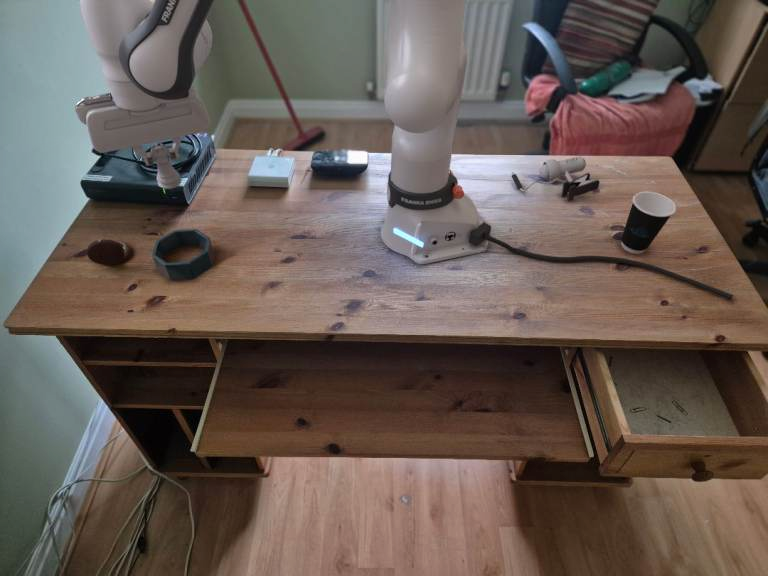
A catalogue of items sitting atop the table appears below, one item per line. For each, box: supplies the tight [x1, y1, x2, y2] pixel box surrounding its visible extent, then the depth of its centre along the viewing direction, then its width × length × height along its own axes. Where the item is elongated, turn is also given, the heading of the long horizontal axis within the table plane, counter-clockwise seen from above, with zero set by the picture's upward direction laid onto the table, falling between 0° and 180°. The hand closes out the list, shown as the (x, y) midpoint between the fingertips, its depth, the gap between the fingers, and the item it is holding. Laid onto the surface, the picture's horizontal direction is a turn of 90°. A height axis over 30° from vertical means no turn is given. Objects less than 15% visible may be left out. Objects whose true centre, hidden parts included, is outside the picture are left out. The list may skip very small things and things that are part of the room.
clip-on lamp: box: [511, 156, 601, 202], centre depth 116 cm, size 12×6×18 cm
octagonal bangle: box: [151, 228, 216, 282], centre depth 96 cm, size 10×10×4 cm
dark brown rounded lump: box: [85, 237, 132, 266], centre depth 95 cm, size 8×8×7 cm
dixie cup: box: [620, 191, 677, 255], centre depth 100 cm, size 8×8×11 cm
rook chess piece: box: [149, 142, 182, 190], centre depth 95 cm, size 4×4×8 cm
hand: (162, 160), depth 94 cm, fingers closed on rook chess piece, 3 cm apart
